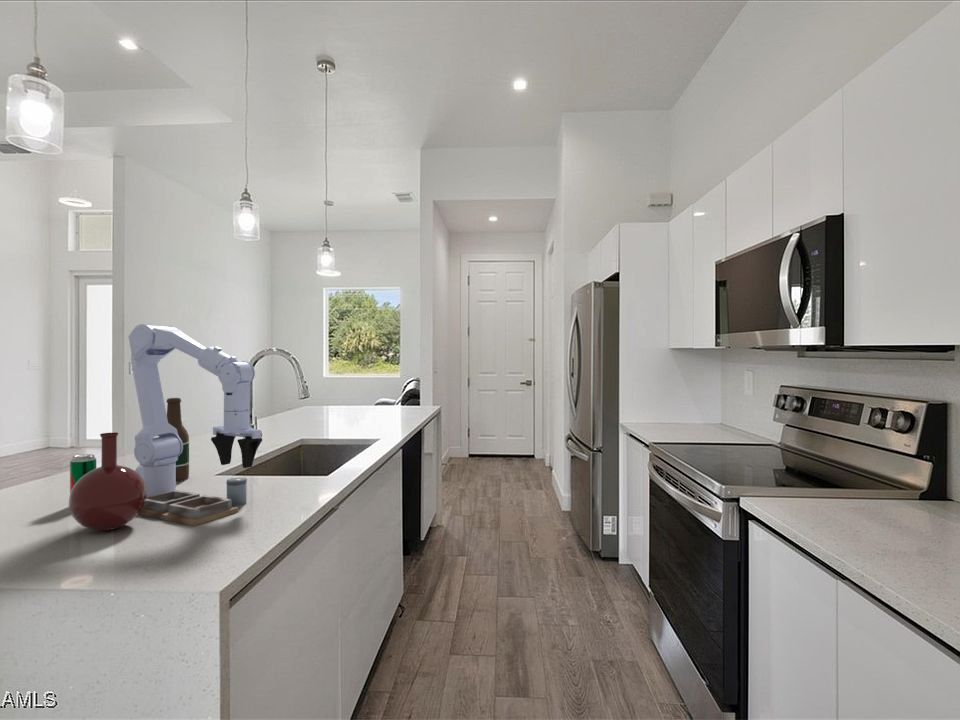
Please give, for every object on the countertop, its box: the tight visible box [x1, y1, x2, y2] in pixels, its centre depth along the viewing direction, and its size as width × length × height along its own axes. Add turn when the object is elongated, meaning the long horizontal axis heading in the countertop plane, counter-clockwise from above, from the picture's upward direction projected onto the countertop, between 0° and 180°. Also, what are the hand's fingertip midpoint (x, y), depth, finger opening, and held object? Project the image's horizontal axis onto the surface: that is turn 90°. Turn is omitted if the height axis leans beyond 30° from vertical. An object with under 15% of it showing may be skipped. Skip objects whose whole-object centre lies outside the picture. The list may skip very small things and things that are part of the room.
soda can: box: [69, 453, 97, 494], centre depth 123 cm, size 5×5×12 cm
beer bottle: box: [158, 397, 190, 483], centre depth 148 cm, size 8×8×24 cm
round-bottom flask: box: [68, 432, 147, 532], centre depth 106 cm, size 13×13×20 cm
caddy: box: [138, 489, 239, 527], centre depth 118 cm, size 22×11×3 cm, turn 65°
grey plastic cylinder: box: [226, 476, 248, 507], centre depth 125 cm, size 4×4×6 cm
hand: (236, 465), depth 124 cm, fingers open, 7 cm apart
